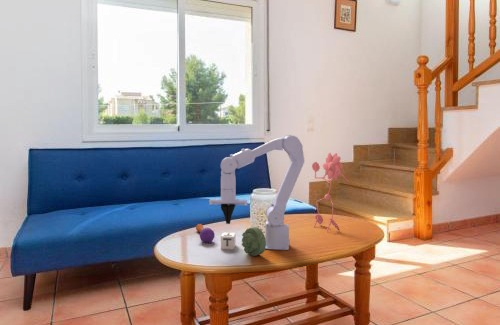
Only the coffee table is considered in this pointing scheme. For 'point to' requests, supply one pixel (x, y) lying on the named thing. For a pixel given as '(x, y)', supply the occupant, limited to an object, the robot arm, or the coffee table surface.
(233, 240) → the letter cube
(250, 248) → the decorative artifact
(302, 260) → the coffee table surface
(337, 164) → the figurine
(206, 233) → the kendama
